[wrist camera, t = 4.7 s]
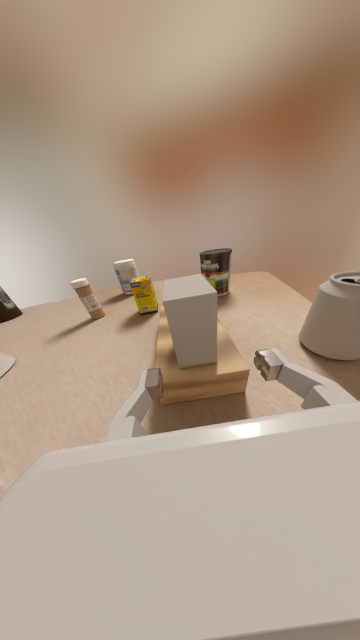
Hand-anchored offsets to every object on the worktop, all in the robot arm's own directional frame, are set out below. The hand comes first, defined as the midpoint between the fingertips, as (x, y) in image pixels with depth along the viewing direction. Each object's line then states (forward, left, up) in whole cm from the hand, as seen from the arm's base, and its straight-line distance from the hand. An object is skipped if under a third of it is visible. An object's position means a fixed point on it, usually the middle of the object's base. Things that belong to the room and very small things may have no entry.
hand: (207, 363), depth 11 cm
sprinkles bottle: (-10, +47, -10) cm, 49 cm away
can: (+23, -4, -10) cm, 26 cm away
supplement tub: (+8, +63, -10) cm, 64 cm away
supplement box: (+6, +36, -10) cm, 38 cm away
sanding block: (+3, +7, -5) cm, 9 cm away
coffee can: (+31, +29, -10) cm, 44 cm away
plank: (+6, +12, -10) cm, 17 cm away
